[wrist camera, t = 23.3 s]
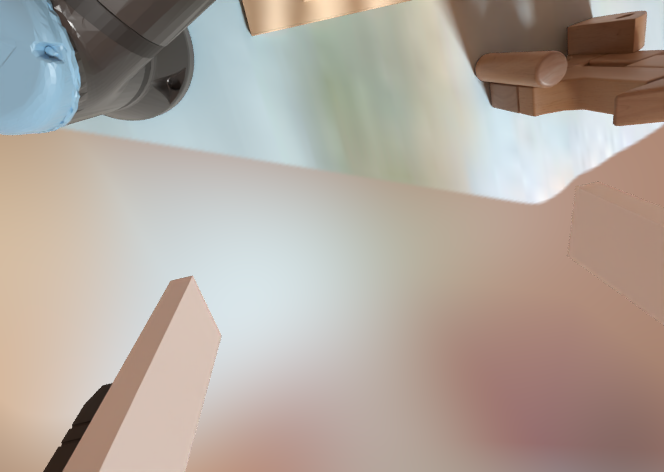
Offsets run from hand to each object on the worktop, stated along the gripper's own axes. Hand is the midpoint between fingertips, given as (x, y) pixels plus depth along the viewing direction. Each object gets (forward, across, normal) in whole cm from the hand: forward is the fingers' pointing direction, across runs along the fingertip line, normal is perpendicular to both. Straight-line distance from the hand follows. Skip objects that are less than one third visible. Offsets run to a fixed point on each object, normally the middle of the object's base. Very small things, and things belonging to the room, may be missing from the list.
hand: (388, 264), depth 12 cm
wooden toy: (+37, +28, 0) cm, 46 cm away
